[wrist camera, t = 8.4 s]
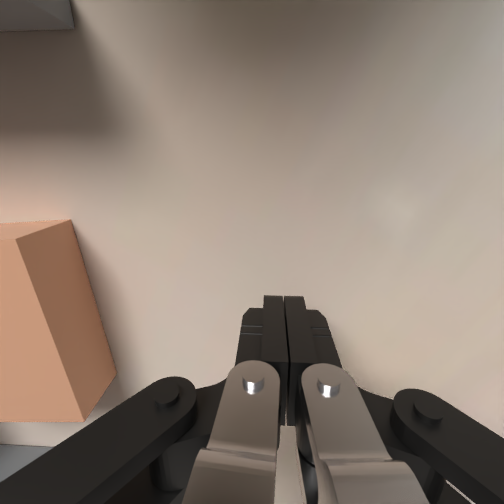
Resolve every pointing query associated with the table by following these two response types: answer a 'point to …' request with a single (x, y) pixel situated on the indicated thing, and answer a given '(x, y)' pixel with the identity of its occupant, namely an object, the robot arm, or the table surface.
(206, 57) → the table surface
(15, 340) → the tile
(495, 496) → the robot arm
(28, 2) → the box
